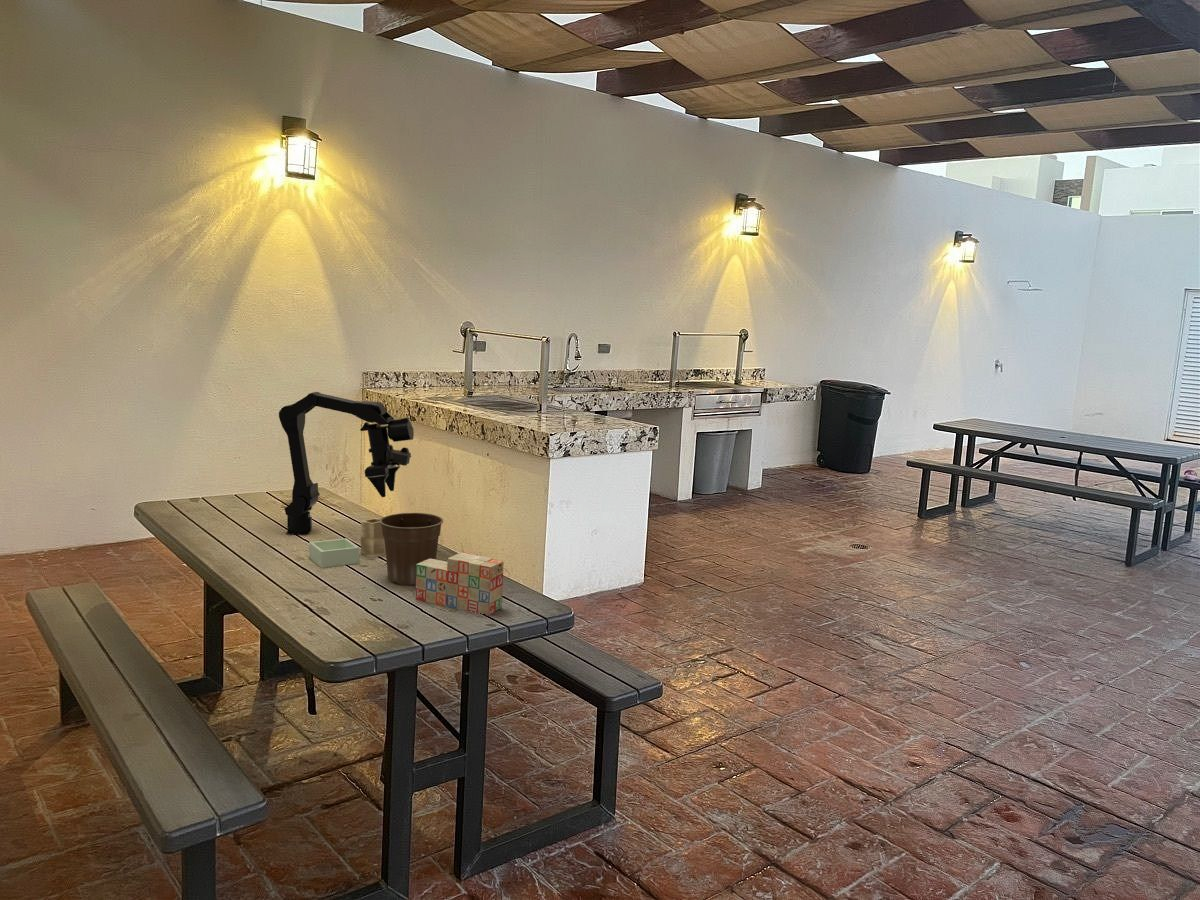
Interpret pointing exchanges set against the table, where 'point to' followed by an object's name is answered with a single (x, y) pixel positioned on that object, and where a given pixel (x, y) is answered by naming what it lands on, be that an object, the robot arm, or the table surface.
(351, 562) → the sage crate
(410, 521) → the plant pot
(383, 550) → the pine crate
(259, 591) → the table surface
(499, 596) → the stack of blocks
